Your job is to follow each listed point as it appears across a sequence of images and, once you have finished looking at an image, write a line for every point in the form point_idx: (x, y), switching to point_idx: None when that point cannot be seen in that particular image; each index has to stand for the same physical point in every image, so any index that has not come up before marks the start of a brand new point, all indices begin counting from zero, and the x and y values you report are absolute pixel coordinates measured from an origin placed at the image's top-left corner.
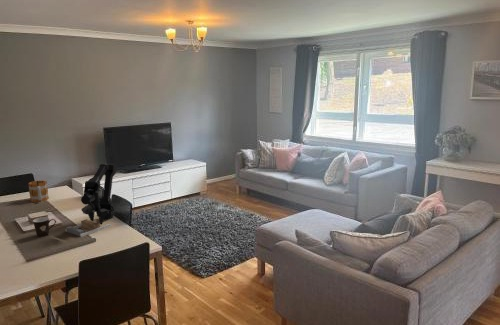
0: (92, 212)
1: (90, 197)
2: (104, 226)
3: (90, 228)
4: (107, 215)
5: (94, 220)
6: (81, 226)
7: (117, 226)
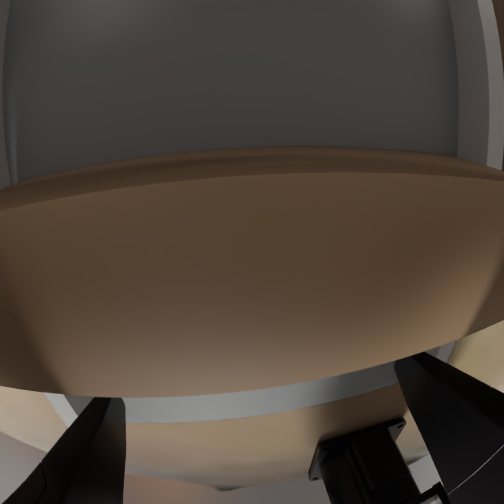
0: (481, 500)
1: None
2: None
3: (142, 161)
4: (347, 491)
5: None
6: None
7: None
